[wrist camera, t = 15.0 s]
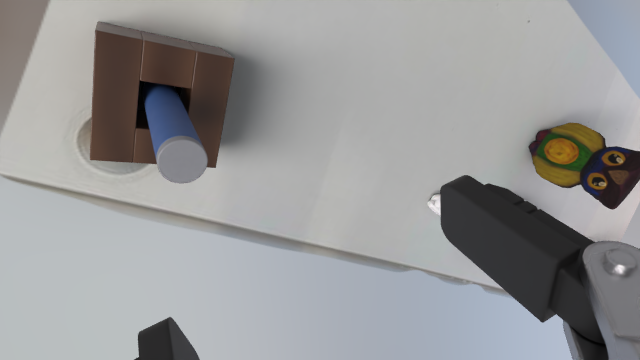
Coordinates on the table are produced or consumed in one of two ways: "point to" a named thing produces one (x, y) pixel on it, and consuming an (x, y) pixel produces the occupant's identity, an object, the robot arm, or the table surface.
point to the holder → (156, 67)
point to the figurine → (586, 162)
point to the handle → (173, 135)
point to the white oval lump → (435, 204)
